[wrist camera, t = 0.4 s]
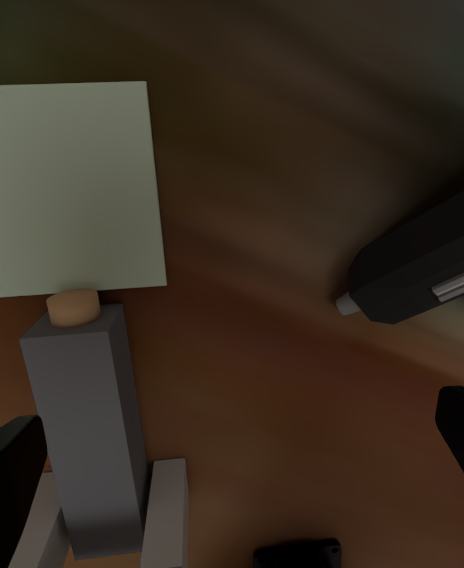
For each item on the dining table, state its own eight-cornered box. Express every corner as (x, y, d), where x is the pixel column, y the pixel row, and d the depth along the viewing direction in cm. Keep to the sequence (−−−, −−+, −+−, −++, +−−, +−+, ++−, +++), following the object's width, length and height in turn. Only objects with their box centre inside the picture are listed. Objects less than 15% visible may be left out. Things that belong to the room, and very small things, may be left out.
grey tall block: (152, 493, 26) (145, 550, 22) (92, 500, 25) (75, 560, 22) (120, 281, 21) (103, 307, 17) (46, 287, 21) (13, 314, 17)
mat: (167, 283, 21) (166, 285, 21) (-2, 295, 20) (-6, 297, 20) (146, 82, 18) (145, 81, 17) (-53, 88, 17) (-59, 87, 17)
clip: (188, 493, 25) (186, 632, 18) (51, 509, 25) (-11, 661, 17) (184, 457, 25) (180, 588, 17) (42, 473, 24) (-28, 616, 16)
